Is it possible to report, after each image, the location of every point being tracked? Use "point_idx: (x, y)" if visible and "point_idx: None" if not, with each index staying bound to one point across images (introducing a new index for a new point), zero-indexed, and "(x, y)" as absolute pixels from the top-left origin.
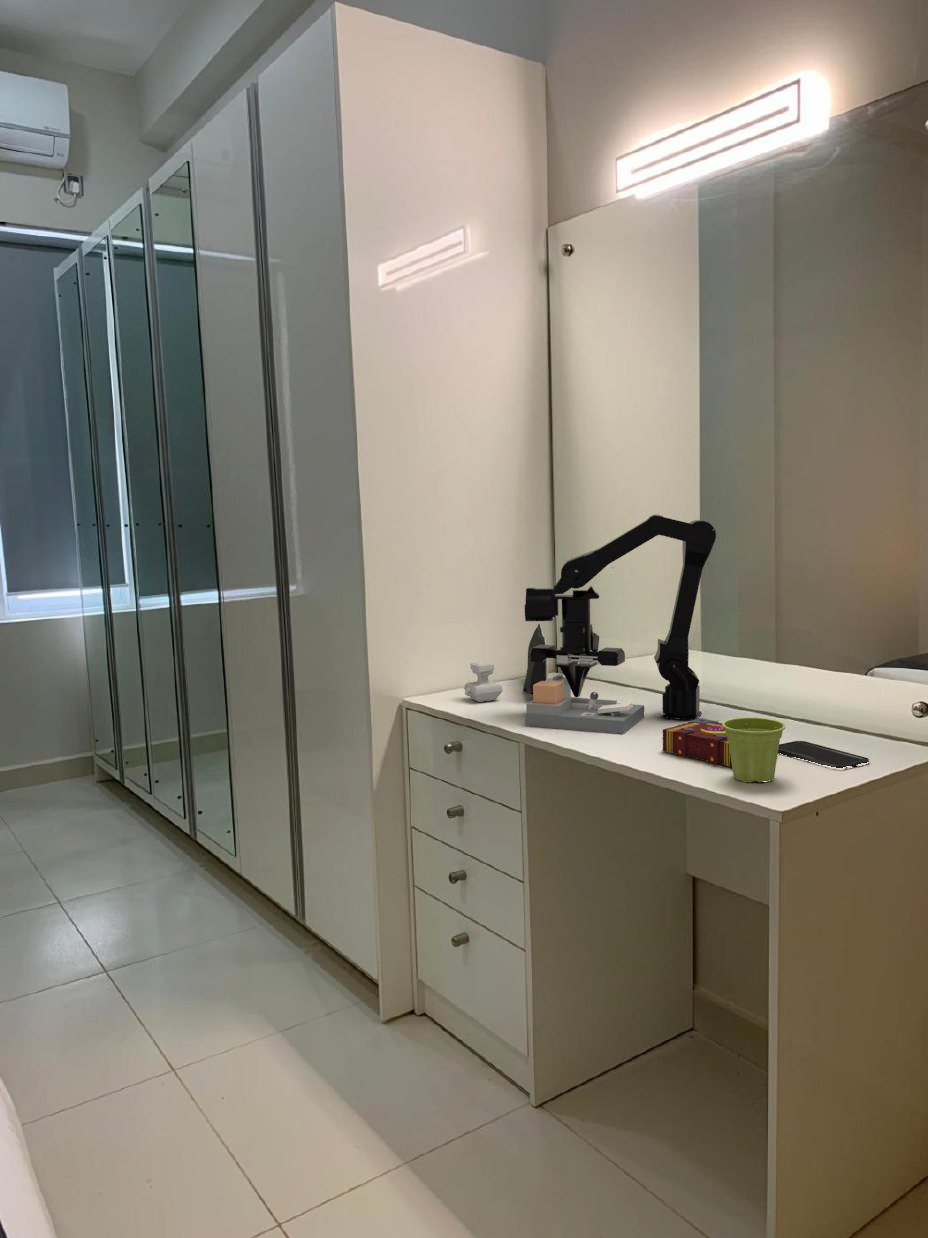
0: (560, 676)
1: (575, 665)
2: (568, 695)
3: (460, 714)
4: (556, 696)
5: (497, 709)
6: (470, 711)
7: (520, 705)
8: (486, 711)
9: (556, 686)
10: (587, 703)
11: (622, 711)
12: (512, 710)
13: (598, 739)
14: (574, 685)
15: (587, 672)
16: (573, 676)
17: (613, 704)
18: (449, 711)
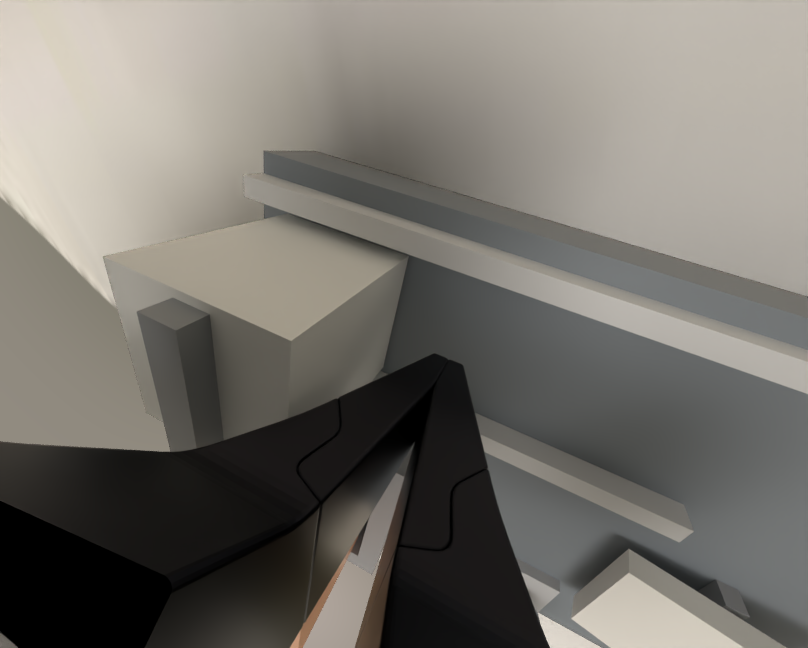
0: (196, 392)
1: (220, 634)
2: (376, 320)
3: (67, 249)
4: (335, 579)
5: (103, 147)
6: (59, 198)
7: (128, 9)
8: (95, 194)
9: (300, 644)
10: (537, 316)
11: (778, 576)
12: (158, 164)
13: (549, 623)
14: (392, 476)
15: (518, 624)
16: (337, 548)
17: (714, 628)
18: (17, 202)
